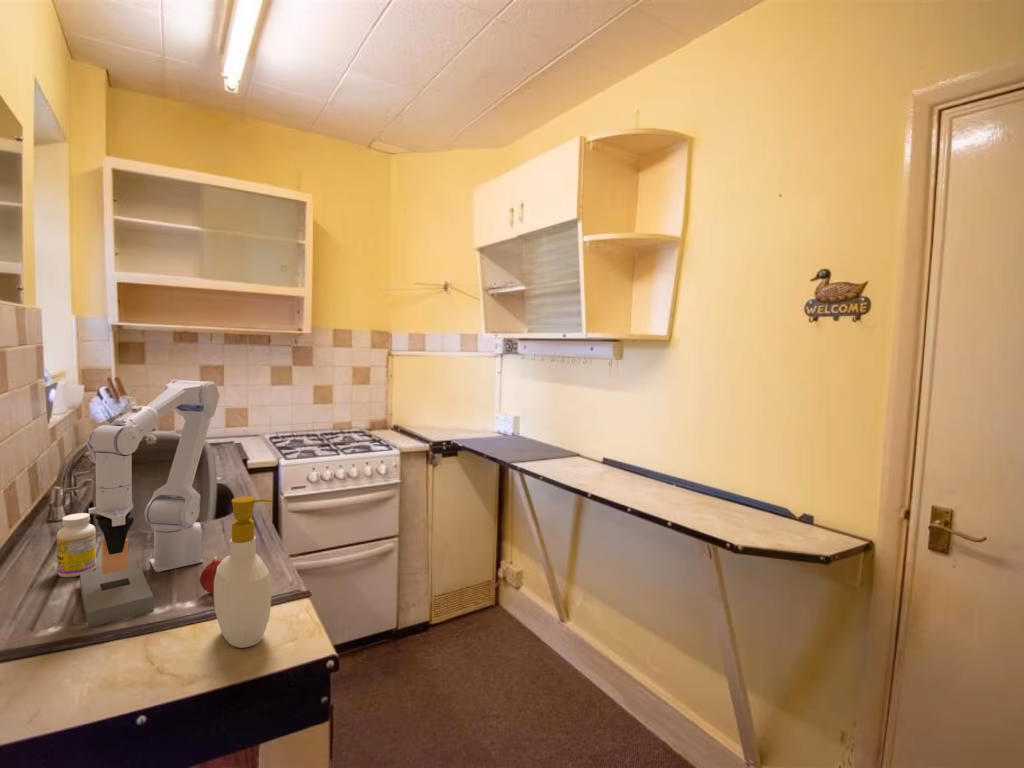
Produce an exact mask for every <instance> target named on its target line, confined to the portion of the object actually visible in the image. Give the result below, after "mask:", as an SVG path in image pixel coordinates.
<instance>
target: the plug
mask: <svg viewBox="0 0 1024 768" xmlns="http://www.w3.org/2000/svg"><path fill="white" fill-rule="evenodd" d="M128 563H129V540H128V538H127V536H126V540H125V545H124V549H123V552H121V553H116V554H111V555H110V554H109V552H108V549H107V544H106V540H105V539H103V540H101V569H102V571H103V574H108V573H113V572H117V571H122V570H127V569H128Z"/></svg>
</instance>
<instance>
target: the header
mask: <svg viewBox="0 0 1024 768" xmlns="http://www.w3.org/2000/svg"><path fill="white" fill-rule="evenodd" d="M79 588H80V595H81V601H82V604H83V609H84V615H85V621H86V625H87V629H89V628H93V627H97V626H100V625H104V624H109V623H112V622H116V621H120V620H123V618H124V619H127V618H130V617H134V616H138V615H142V614H145V613H149V612H152V611H153V612H154V594H153V592H152V590H151V587H150V585H149V583H148V581H147V579H146V576H145V573H144V572H143V570H142V567H141V565H140V562H139V561H138V560H137V561H134V562H133V561H131V562H128V569H127V570H122V571H117V572H113V573H108V574H103V571H102V568H98V569H94V570H93V571H88V572H83V573H80V576H79ZM108 622H109V623H108Z"/></svg>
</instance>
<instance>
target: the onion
mask: <svg viewBox="0 0 1024 768" xmlns="http://www.w3.org/2000/svg"><path fill="white" fill-rule="evenodd" d="M222 561H223V560H220V559H219V557H217V556H214V557H213V559H212V561H211V563H208V564H207V565H206V566H205V568H204V569H202V572H201V573H200V576H199V582H200V586H201V588H203V589H202V590H204V591H206V592H208V593H210V594H212V595H214V579H215V574H216V570H217V566H218V565H219V564H220V563H221V562H222Z"/></svg>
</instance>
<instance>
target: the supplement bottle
mask: <svg viewBox="0 0 1024 768" xmlns="http://www.w3.org/2000/svg"><path fill="white" fill-rule="evenodd" d="M90 516H91V514H89V512H88V513H86V512H77V513H73V514H72V513H71V514H68V515H65V516H63V517H62V519H61V520H62V521H61V523H62V526H63V527H62V528H61V529H59V530H58V531H57V533H56V554H57V555H56V559H57V560H56V562H57V564H56V565H57V575H58V576H59V577H61V578H75V577H80V573H83V572H88V571H93V570H96V567H97V549H96V548H97V547H96V545H97V543H96V542H97V539H96V538H97V537H96V535H97V534H96V527H95V526H94V525H93V524H91V523H90V520H91V517H90Z"/></svg>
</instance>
